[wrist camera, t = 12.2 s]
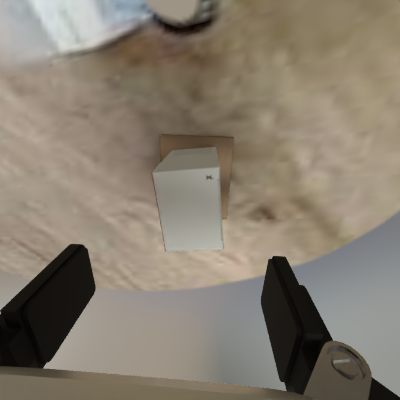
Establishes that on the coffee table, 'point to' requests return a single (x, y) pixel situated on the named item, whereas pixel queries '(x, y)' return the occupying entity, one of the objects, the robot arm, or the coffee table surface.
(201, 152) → the small box
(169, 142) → the walnut coaster board
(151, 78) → the coffee table surface
